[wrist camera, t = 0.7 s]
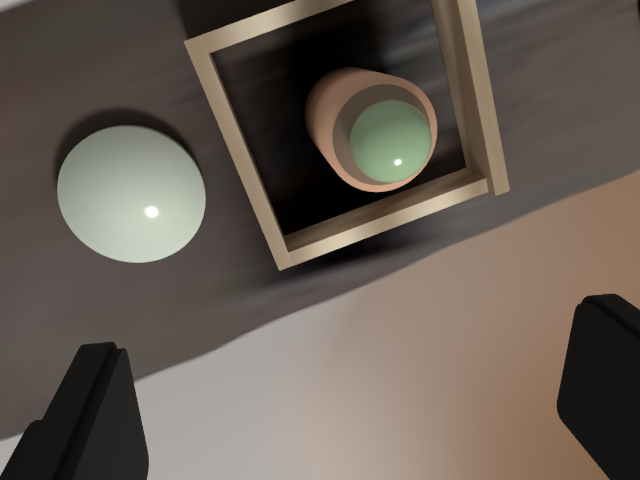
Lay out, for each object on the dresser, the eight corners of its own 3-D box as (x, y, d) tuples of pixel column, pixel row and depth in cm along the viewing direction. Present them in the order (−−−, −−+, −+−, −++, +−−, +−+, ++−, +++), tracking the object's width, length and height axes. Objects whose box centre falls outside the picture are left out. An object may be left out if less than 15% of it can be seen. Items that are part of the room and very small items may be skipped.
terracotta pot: (379, 53, 32) (450, 61, 22) (402, 140, 35) (476, 186, 24) (291, 85, 32) (320, 109, 22) (321, 171, 35) (360, 230, 24)
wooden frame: (436, -50, 30) (464, -62, 27) (482, 175, 37) (509, 190, 33) (188, 41, 30) (182, 41, 26) (275, 253, 36) (280, 277, 33)
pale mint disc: (170, 104, 31) (168, 105, 30) (226, 229, 35) (227, 234, 34) (33, 154, 31) (28, 157, 30) (104, 274, 35) (101, 281, 34)
